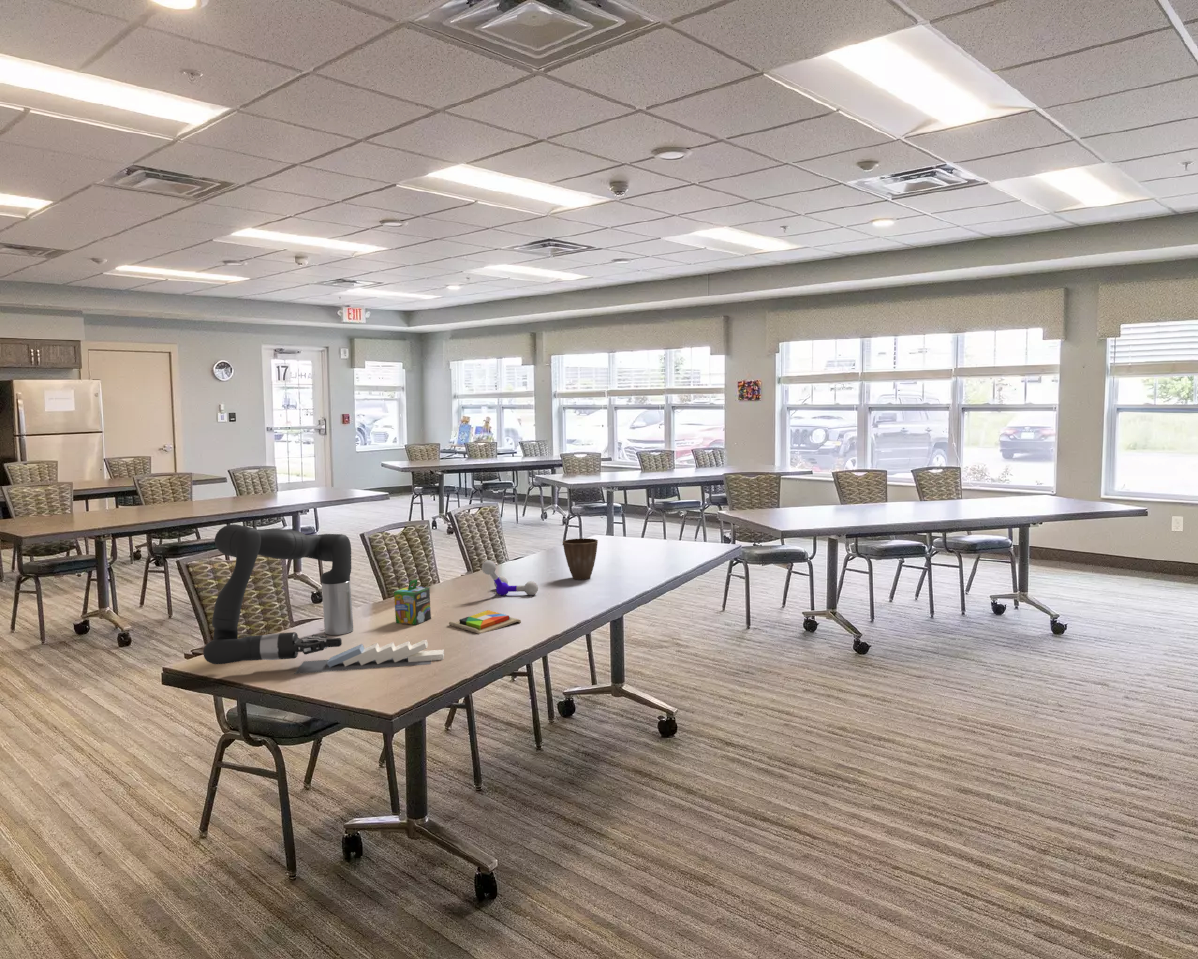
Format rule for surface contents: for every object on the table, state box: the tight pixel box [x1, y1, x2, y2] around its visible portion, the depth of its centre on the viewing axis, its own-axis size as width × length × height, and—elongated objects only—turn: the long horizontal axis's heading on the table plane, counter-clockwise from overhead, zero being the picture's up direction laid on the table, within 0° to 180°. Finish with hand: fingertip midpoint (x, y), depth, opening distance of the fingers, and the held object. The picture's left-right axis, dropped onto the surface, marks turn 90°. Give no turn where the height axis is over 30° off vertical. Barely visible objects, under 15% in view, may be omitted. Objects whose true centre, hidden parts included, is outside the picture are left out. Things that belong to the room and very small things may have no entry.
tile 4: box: [375, 640, 412, 664], centre depth 248 cm, size 2×5×10 cm
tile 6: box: [408, 649, 445, 662], centre depth 249 cm, size 2×5×10 cm
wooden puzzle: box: [448, 609, 522, 635], centre depth 289 cm, size 17×19×4 cm
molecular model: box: [481, 560, 539, 597], centre depth 335 cm, size 21×21×15 cm
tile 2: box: [343, 642, 381, 666], centre depth 247 cm, size 2×5×10 cm
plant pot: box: [562, 537, 599, 581], centre depth 360 cm, size 15×15×16 cm
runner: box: [294, 657, 433, 675], centre depth 248 cm, size 38×12×1 cm, turn 97°
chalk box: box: [393, 578, 432, 626], centre depth 296 cm, size 9×9×15 cm
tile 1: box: [327, 643, 365, 668], centre depth 247 cm, size 2×5×10 cm
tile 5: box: [393, 639, 429, 662], centre depth 249 cm, size 2×5×10 cm
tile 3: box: [359, 641, 396, 665], centre depth 248 cm, size 2×5×10 cm
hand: (341, 642), depth 246 cm, fingers closed
